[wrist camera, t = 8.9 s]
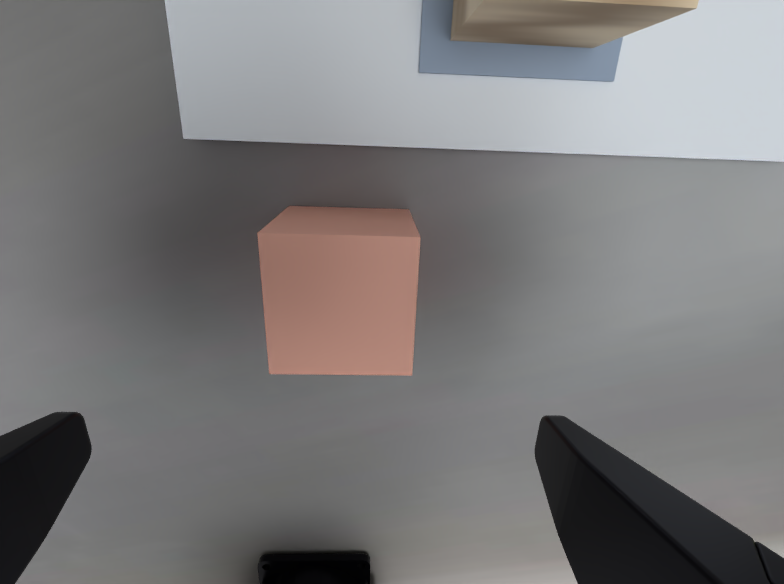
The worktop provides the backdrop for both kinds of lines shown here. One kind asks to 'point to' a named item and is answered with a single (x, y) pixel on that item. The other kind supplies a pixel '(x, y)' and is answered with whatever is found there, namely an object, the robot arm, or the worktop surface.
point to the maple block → (558, 20)
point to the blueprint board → (478, 80)
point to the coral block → (340, 290)
